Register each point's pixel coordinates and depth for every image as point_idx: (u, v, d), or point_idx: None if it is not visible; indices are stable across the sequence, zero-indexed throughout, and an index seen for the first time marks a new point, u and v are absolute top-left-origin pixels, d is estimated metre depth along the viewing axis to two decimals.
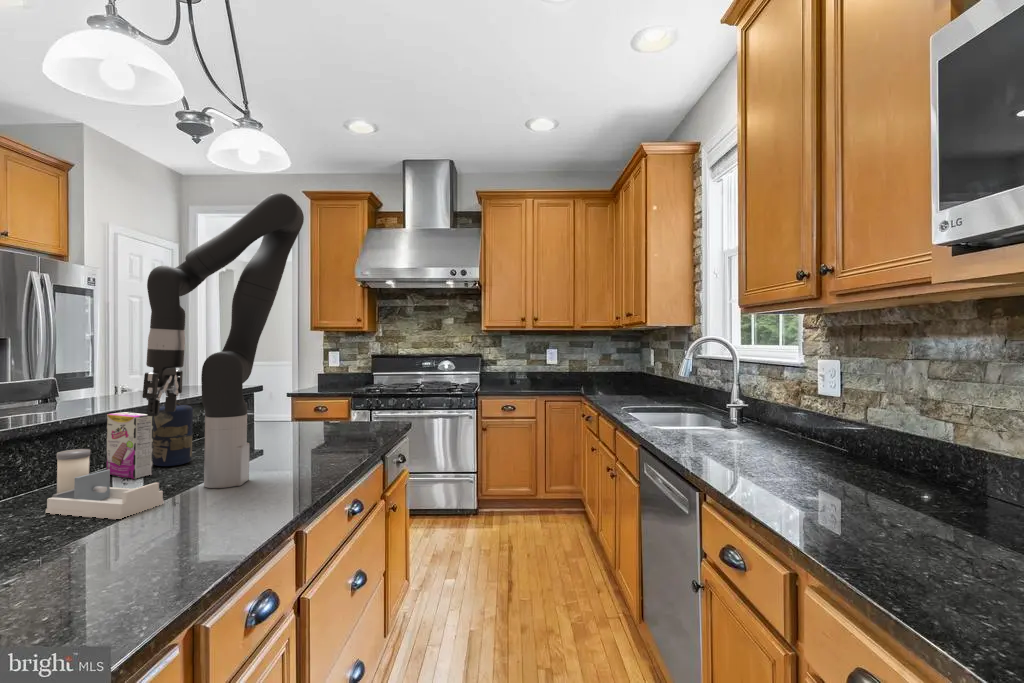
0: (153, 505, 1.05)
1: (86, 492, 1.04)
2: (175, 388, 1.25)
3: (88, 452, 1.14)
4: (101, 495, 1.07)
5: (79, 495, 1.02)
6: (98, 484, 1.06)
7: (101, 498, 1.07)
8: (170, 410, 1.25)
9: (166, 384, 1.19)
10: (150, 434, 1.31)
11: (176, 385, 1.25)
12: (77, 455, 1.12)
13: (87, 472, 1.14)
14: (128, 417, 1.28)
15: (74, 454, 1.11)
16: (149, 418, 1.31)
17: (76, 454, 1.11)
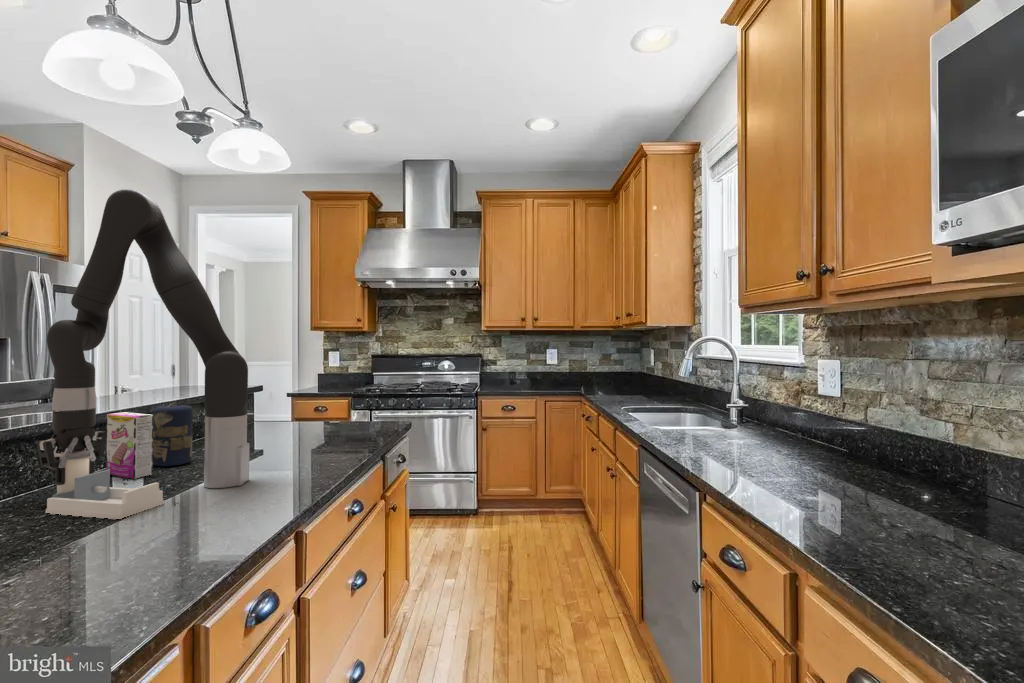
0: (153, 505, 1.05)
1: (86, 492, 1.04)
2: None
3: (88, 452, 1.14)
4: (101, 495, 1.07)
5: (79, 495, 1.02)
6: (98, 484, 1.06)
7: (101, 498, 1.07)
8: None
9: None
10: (150, 434, 1.31)
11: None
12: (77, 455, 1.12)
13: (87, 472, 1.14)
14: (128, 417, 1.28)
15: (74, 454, 1.11)
16: (149, 418, 1.31)
17: (76, 454, 1.11)
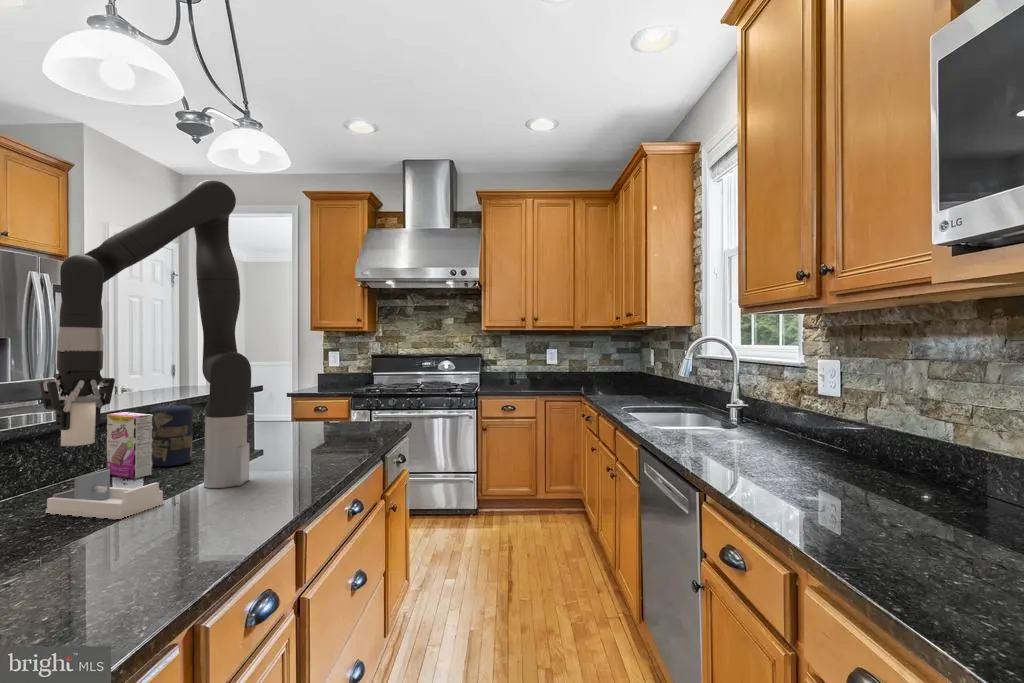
0: (153, 505, 1.05)
1: (86, 492, 1.04)
2: None
3: (94, 397, 1.07)
4: (101, 495, 1.07)
5: (79, 495, 1.02)
6: (98, 484, 1.06)
7: (101, 498, 1.07)
8: None
9: None
10: (150, 434, 1.31)
11: None
12: (83, 399, 1.04)
13: (93, 418, 1.07)
14: (128, 417, 1.28)
15: (80, 398, 1.04)
16: (149, 418, 1.31)
17: (82, 398, 1.04)
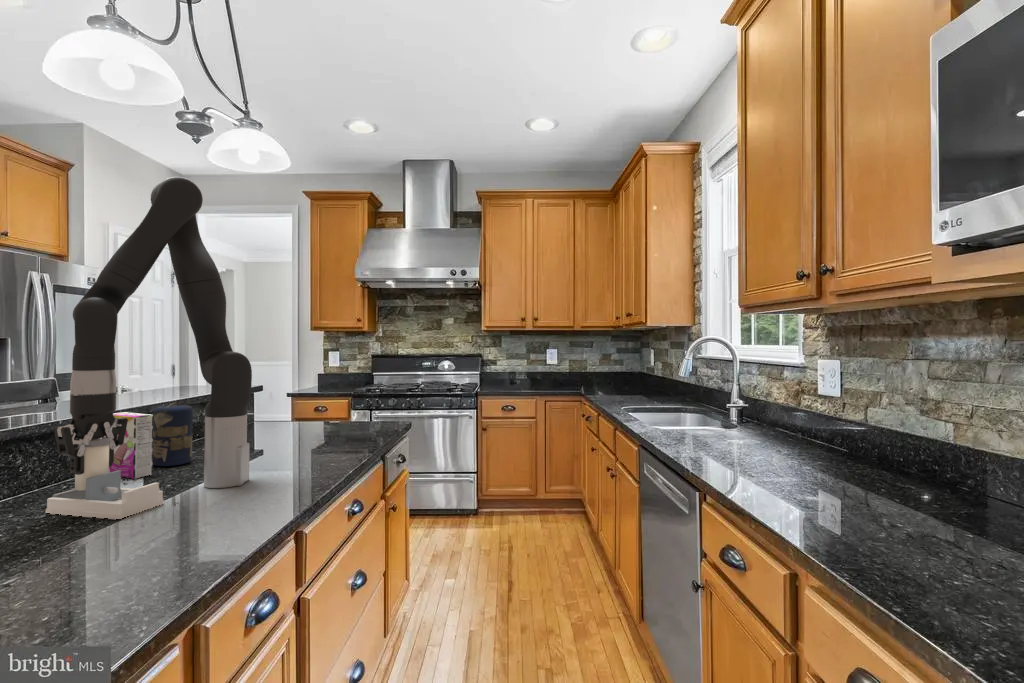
0: (153, 505, 1.05)
1: (98, 493, 1.03)
2: None
3: (108, 440, 1.06)
4: (112, 496, 1.06)
5: (90, 496, 1.02)
6: (109, 485, 1.06)
7: (112, 499, 1.06)
8: None
9: None
10: (150, 434, 1.31)
11: None
12: (97, 443, 1.04)
13: (107, 461, 1.06)
14: (128, 417, 1.28)
15: (93, 441, 1.04)
16: (149, 418, 1.31)
17: (96, 442, 1.04)
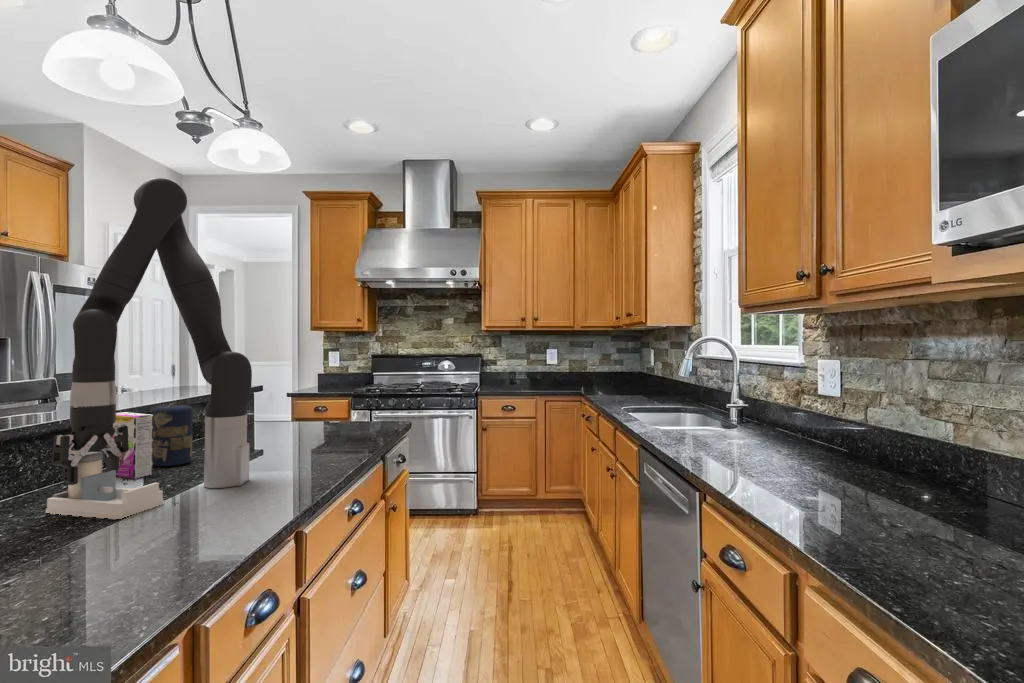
0: (153, 505, 1.05)
1: (93, 493, 1.03)
2: None
3: (101, 455, 1.06)
4: (107, 495, 1.07)
5: (85, 495, 1.02)
6: (104, 484, 1.06)
7: (107, 498, 1.06)
8: None
9: None
10: (150, 434, 1.31)
11: None
12: (89, 458, 1.04)
13: None
14: (128, 417, 1.28)
15: (86, 457, 1.03)
16: (149, 418, 1.31)
17: (88, 457, 1.04)
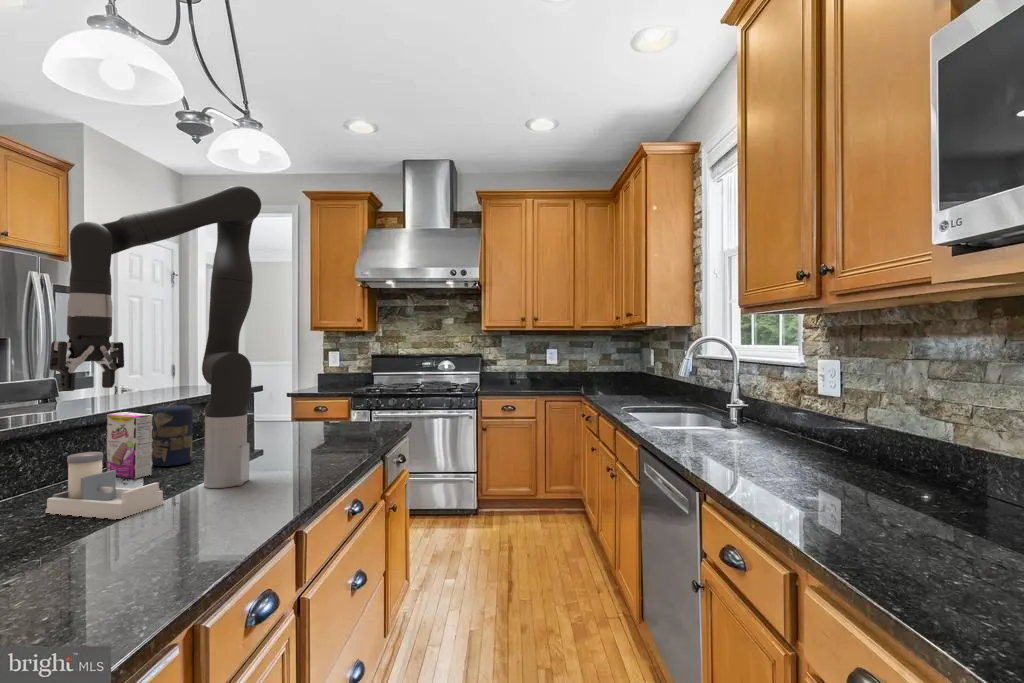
0: (153, 505, 1.05)
1: (93, 493, 1.03)
2: None
3: (101, 455, 1.06)
4: (107, 495, 1.07)
5: (85, 495, 1.02)
6: (104, 484, 1.06)
7: (107, 498, 1.06)
8: None
9: None
10: (150, 434, 1.31)
11: None
12: (89, 458, 1.04)
13: None
14: (128, 417, 1.28)
15: (86, 457, 1.03)
16: (149, 418, 1.31)
17: (88, 457, 1.04)
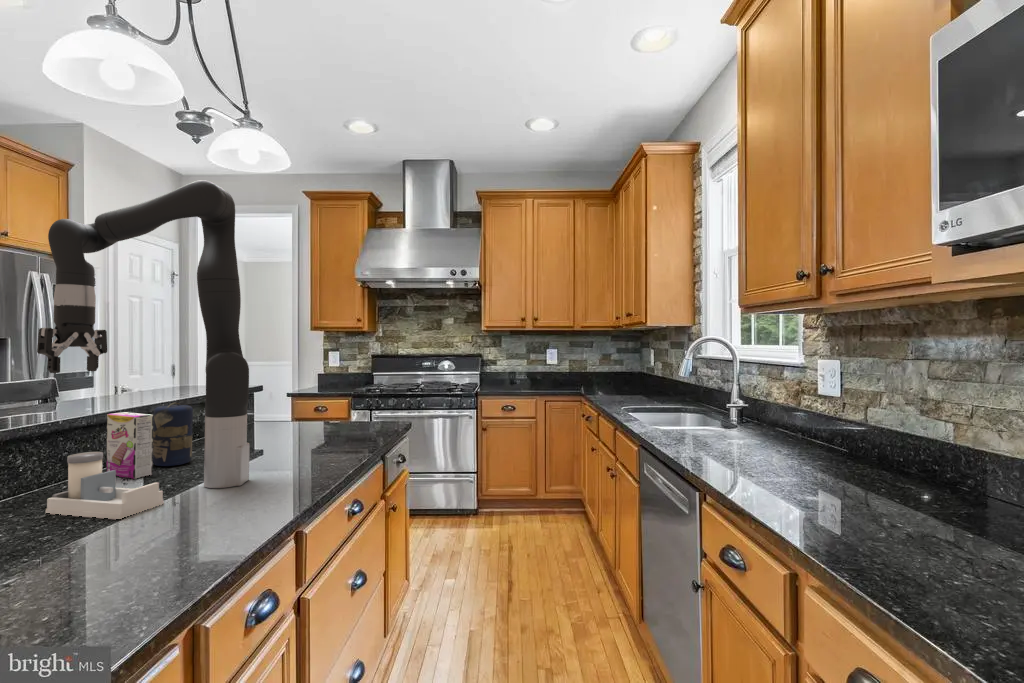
0: (153, 505, 1.05)
1: (93, 493, 1.03)
2: None
3: (101, 455, 1.06)
4: (107, 495, 1.07)
5: (85, 495, 1.02)
6: (104, 484, 1.06)
7: (107, 498, 1.06)
8: None
9: None
10: (150, 434, 1.31)
11: None
12: (89, 458, 1.04)
13: None
14: (128, 417, 1.28)
15: (86, 457, 1.03)
16: (149, 418, 1.31)
17: (88, 457, 1.04)
